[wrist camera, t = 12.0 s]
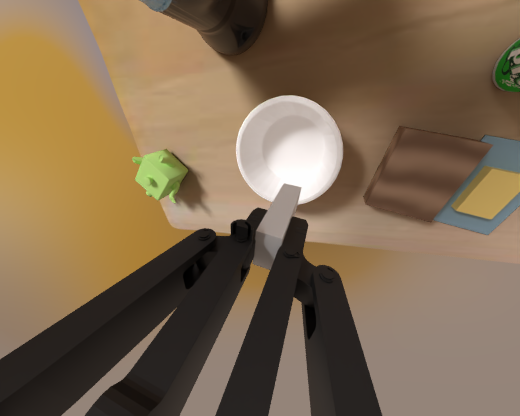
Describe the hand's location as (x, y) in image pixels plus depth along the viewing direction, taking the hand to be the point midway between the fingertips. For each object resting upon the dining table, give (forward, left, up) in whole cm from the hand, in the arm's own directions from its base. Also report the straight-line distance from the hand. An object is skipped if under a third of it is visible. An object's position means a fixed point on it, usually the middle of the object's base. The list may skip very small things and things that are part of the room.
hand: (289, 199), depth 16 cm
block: (+3, +33, -30) cm, 45 cm away
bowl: (+4, -5, -33) cm, 33 cm away
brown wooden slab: (+3, +21, -32) cm, 38 cm away
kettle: (+19, -41, -32) cm, 56 cm away
